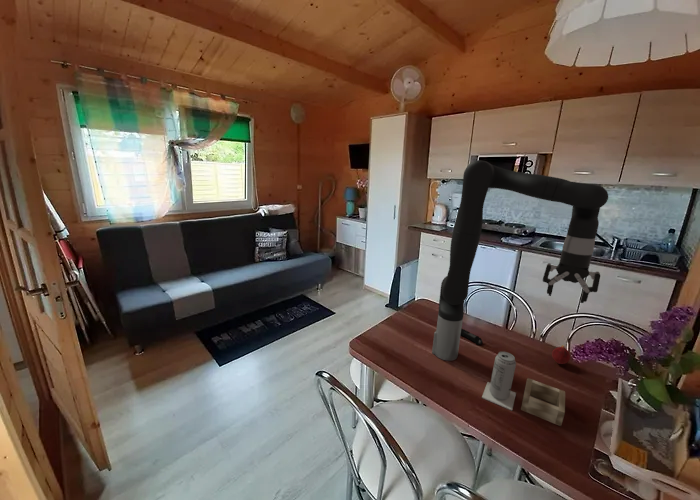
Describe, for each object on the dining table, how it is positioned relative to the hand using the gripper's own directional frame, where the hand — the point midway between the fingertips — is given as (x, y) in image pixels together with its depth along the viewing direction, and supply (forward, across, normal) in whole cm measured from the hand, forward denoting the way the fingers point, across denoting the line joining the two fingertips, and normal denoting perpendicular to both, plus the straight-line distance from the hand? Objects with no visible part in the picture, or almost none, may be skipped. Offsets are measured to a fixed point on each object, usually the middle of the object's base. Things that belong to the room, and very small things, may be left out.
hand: (565, 298), depth 98 cm
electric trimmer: (+34, +31, -14) cm, 48 cm away
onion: (+33, -4, -17) cm, 38 cm away
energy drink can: (+33, +12, +16) cm, 39 cm away
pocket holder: (+33, 0, +13) cm, 36 cm away
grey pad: (+33, +12, +16) cm, 39 cm away
